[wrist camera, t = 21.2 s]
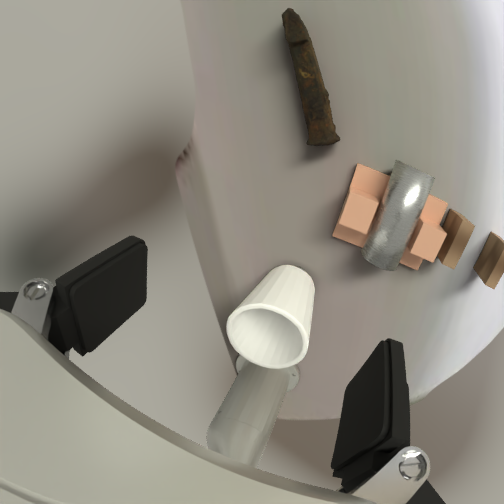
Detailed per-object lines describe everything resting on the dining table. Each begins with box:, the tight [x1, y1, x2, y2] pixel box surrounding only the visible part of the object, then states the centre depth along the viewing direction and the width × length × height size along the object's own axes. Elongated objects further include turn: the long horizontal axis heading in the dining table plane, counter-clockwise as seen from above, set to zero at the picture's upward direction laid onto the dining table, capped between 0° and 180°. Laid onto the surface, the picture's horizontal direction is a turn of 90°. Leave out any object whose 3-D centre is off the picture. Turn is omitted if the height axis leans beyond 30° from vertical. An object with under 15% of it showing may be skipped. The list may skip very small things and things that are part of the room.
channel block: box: [437, 209, 504, 289], centre depth 27 cm, size 6×10×5 cm, turn 76°
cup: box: [226, 265, 315, 369], centre depth 36 cm, size 10×10×13 cm
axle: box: [361, 160, 435, 271], centre depth 29 cm, size 12×5×5 cm, turn 166°
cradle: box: [332, 163, 448, 270], centre depth 31 cm, size 10×13×4 cm
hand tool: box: [282, 8, 340, 146], centre depth 27 cm, size 19×4×5 cm, turn 10°
